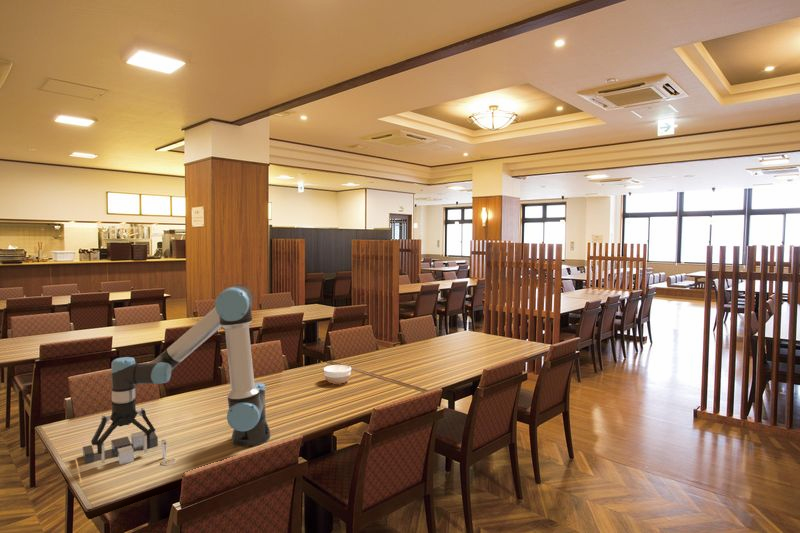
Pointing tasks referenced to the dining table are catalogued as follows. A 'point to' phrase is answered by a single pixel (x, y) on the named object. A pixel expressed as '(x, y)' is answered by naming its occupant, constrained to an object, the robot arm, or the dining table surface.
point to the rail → (115, 448)
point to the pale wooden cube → (125, 455)
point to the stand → (165, 454)
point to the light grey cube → (137, 440)
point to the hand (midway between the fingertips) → (124, 456)
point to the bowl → (337, 373)
